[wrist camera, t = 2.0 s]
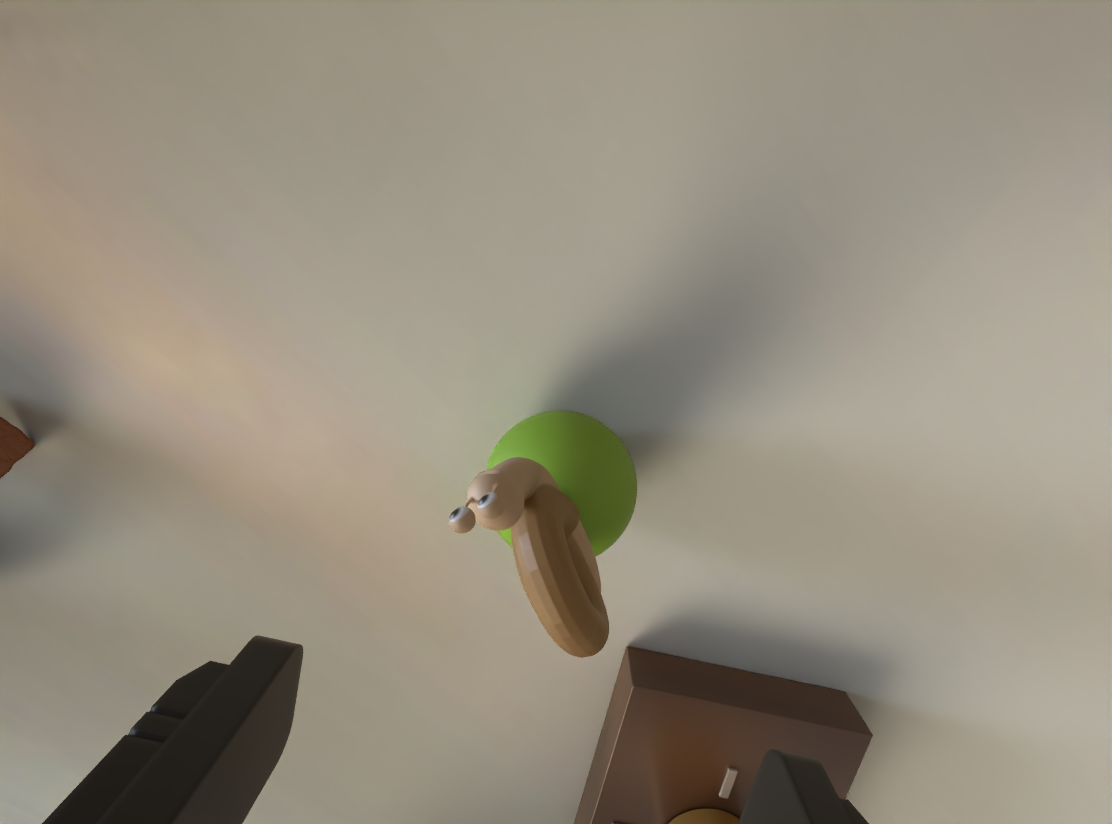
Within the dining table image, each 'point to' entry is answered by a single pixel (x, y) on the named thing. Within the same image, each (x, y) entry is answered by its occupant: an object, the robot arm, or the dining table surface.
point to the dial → (705, 817)
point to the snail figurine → (557, 516)
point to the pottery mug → (12, 446)
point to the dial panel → (708, 738)
